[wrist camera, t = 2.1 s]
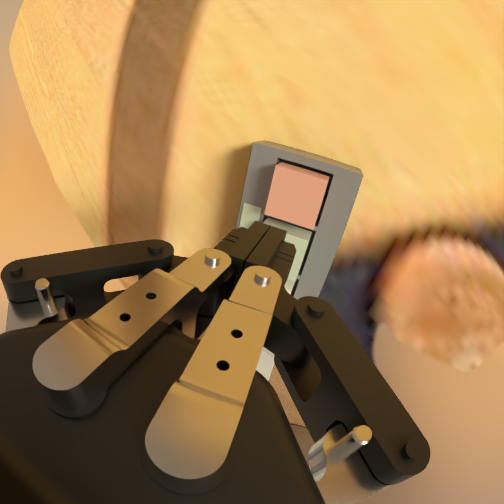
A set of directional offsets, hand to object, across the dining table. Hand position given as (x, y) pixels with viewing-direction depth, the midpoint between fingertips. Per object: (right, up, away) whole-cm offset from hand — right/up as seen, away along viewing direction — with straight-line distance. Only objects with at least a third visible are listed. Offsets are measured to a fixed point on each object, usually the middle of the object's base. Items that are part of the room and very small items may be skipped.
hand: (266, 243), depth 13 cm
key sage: (+2, 0, +12) cm, 12 cm away
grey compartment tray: (+3, +2, +14) cm, 15 cm away
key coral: (+3, +4, +9) cm, 11 cm away
